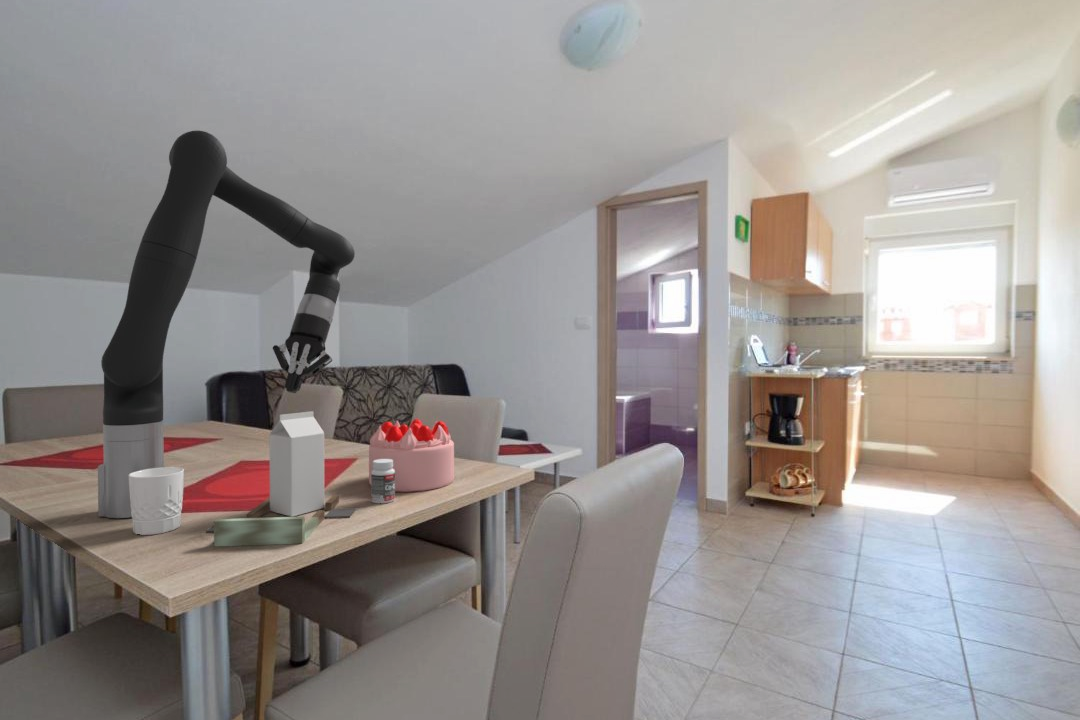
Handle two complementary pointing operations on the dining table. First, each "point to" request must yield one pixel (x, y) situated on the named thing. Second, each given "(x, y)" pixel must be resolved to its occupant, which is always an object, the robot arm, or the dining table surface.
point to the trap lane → (267, 527)
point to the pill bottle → (383, 481)
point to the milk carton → (296, 465)
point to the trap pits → (331, 514)
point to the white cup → (156, 499)
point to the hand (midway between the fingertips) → (291, 391)
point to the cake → (415, 454)
